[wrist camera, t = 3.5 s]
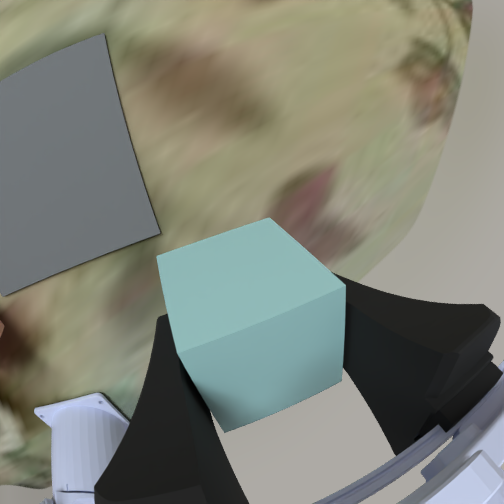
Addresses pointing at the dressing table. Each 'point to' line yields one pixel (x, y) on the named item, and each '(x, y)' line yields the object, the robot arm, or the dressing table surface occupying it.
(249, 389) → the teal brick
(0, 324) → the peach block
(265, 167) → the dressing table surface
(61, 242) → the mat
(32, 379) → the dressing table surface
